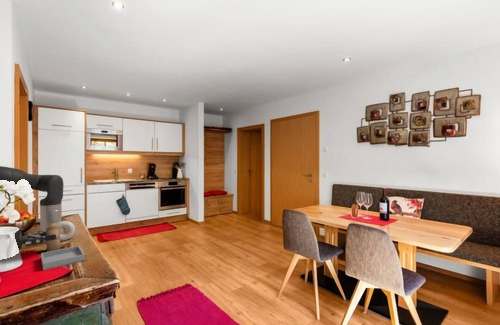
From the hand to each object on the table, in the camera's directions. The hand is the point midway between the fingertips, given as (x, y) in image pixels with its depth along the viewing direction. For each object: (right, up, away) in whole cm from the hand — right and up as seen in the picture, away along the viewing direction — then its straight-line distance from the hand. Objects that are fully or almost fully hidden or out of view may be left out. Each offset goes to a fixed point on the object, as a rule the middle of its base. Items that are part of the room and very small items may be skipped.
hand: (55, 234), depth 116 cm
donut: (-6, -7, +13) cm, 16 cm away
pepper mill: (-1, -7, 0) cm, 7 cm away
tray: (+12, -7, -12) cm, 18 cm away
